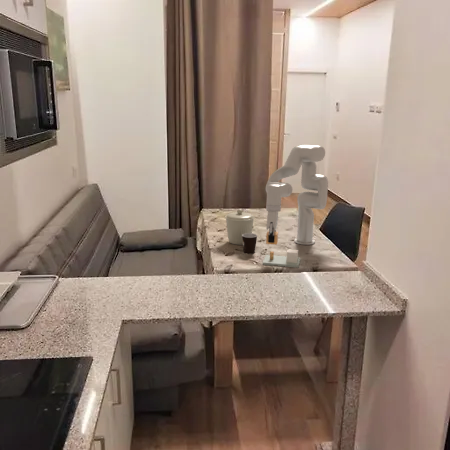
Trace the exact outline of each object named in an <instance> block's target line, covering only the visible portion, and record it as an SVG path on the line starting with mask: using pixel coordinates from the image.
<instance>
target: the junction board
mask: <svg viewBox="0 0 450 450" xmlns="http://www.w3.org/2000/svg"><path fill="white" fill-rule="evenodd" d="M298 256H299V249H291V248H289V249H288V248H287V251H286V255H275V252H274V251H270V252H269V254H265V255H264V259H263V260H262V265H264V266H273V265H278V266H277V267H284V266H285V268H286V267H287V268H296V267H297V268H299V267H300V262H301V257H298Z"/></svg>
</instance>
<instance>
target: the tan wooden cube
mask: <svg viewBox="0 0 450 450" xmlns="http://www.w3.org/2000/svg"><path fill="white" fill-rule="evenodd" d="M268 235H269V230H268V231H267V232H266V235H265V237H266V238H265V244H266V245H276V246H277V245H278V242H279V231H276V232H274V235H275V237H274V243H269V242H268Z"/></svg>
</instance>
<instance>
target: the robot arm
mask: <svg viewBox="0 0 450 450" xmlns="http://www.w3.org/2000/svg"><path fill="white" fill-rule="evenodd" d="M325 156H326V150H325V148H324V147H323V146H322V145H312V144H300V145H297V146H293V148H292V149H291V151H290V153H289V155H288V156H287V158H286V161H285V162H284V165H282V166H281V167H279V168H278V169H276V170H275V171H274V172H273V173H271V174H270V176H269V178H268V180H267V181H266V185H265V192H266V207H265V208H266V209H265V211H267V216H266V217H267V218H266V230H268V231H269V235H268V242H269V243H274V237H275V235H274V232H277V227H278V223H279V221H278V220H279V212H281V209H282V198H287V197H290V196H291V195H292V193H293V186H292V184H290V183H288V182H282V181H281V180H282V179H286V178H289V177H293V176H295V175H297V174H298V173H299V170H300V169H301V177H300V178H301V179H300V180H301V181H300V184H301V185H300V186H301V188H302V189H303V190H308V191H301V192H299V193H298V195H297V208H298V210H297V211H298V212H297V213H298V215H297V230H296V232H297V233H296V237H295V238H294V240H293V241H294V243H295V244H297V245H303V246H305V245H306V246H307V245H308V246H310V245H314V244H315V243H316V240H315V239H314V237H313V236H314V221H315V220H314V219H315V218H314V217H315V215H314V211H313V209H314V210H324V209H325V208H326V206H327V201H328V191H329V180H328V178H327V176H326V175H324V174H317V163H318V162H321V161H323V160H324V159H325ZM280 181H281V182H280ZM314 191H315V192H314Z"/></svg>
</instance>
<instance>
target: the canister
mask: <svg viewBox="0 0 450 450" xmlns="http://www.w3.org/2000/svg"><path fill="white" fill-rule="evenodd" d="M255 217H256V216H255V215H253V214H252V213H250V212H245V211H244V209H242V208H238V209H237V210H236V211H233V212H229V213H227V214H226V215H225V216H224V218H225V221H226V230H227V239H228V242H229V243H230V244H232V245H237V246H241V245H242V246H243V239H242V235H243V234H246V233H252V232H253V228H254V219H256V218H255Z"/></svg>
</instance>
